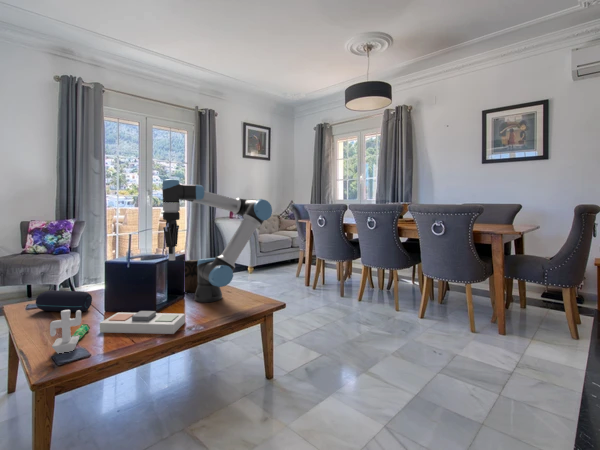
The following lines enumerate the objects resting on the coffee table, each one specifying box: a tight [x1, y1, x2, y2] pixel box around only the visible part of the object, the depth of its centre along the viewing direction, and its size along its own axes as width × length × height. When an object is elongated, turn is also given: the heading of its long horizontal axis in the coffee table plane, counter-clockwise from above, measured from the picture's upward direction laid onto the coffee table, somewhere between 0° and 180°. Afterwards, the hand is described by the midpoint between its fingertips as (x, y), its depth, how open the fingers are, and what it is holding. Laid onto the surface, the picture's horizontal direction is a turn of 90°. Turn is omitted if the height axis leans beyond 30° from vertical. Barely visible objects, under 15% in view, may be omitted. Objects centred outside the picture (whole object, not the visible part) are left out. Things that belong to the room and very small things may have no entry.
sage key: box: [155, 315, 178, 322], centre depth 140 cm, size 7×7×3 cm
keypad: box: [99, 311, 186, 335], centre depth 141 cm, size 13×31×4 cm, turn 89°
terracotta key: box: [109, 314, 134, 321], centre depth 141 cm, size 7×7×3 cm
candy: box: [71, 323, 91, 344], centre depth 130 cm, size 12×3×4 cm
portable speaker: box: [35, 289, 93, 313], centre depth 160 cm, size 25×10×10 cm, turn 86°
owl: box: [184, 259, 199, 294], centre depth 196 cm, size 13×13×20 cm
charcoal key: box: [132, 310, 157, 322], centre depth 140 cm, size 7×7×3 cm
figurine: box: [49, 310, 82, 355], centre depth 118 cm, size 7×9×15 cm
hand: (172, 260), depth 157 cm, fingers closed
